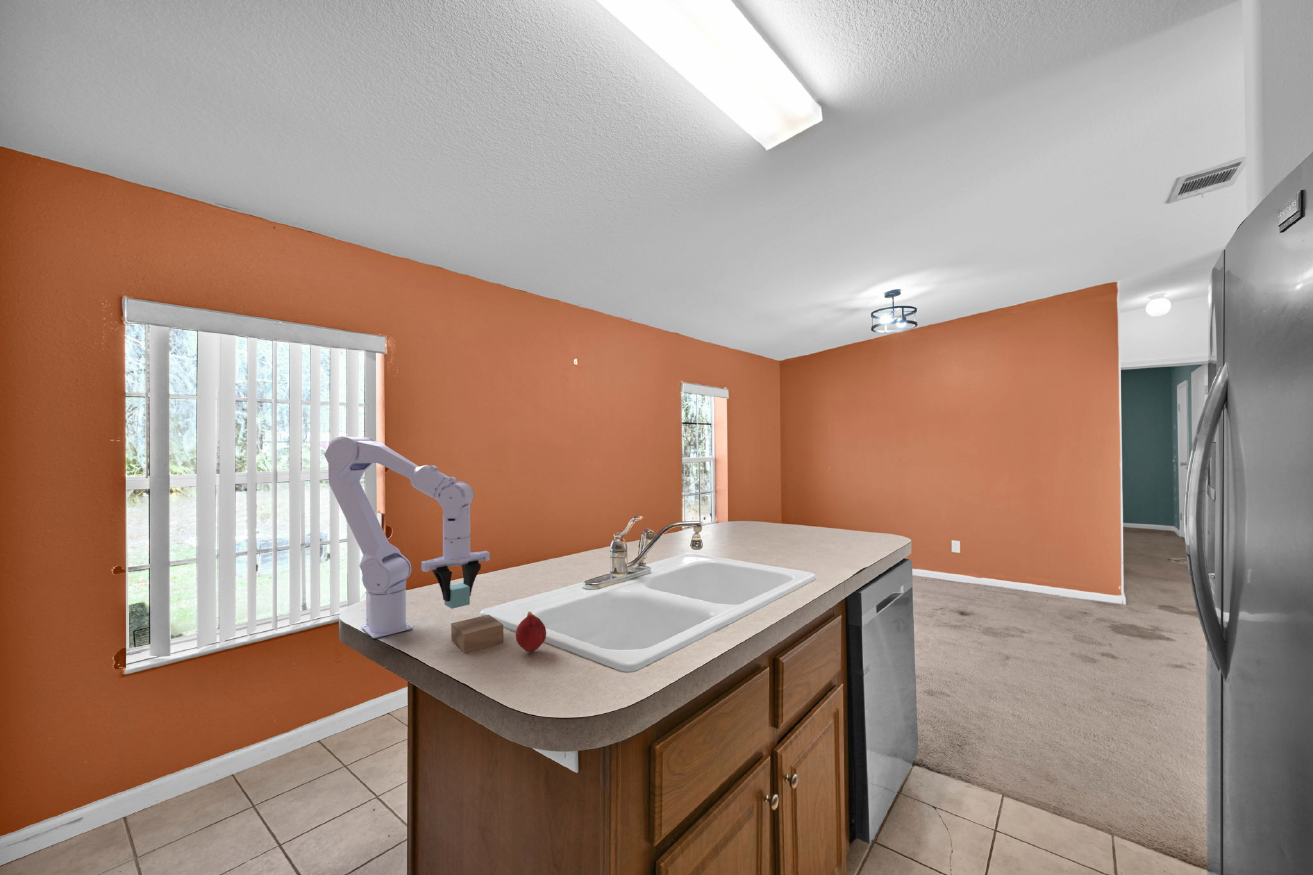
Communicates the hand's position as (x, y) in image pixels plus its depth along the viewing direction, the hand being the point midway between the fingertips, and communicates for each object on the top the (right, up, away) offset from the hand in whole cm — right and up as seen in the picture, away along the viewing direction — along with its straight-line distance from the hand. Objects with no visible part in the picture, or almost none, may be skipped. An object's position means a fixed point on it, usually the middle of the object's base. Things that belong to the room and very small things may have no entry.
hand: (457, 597), depth 111 cm
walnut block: (+7, -7, -7) cm, 12 cm away
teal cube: (0, -2, 0) cm, 2 cm away
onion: (+20, -7, -13) cm, 25 cm away
